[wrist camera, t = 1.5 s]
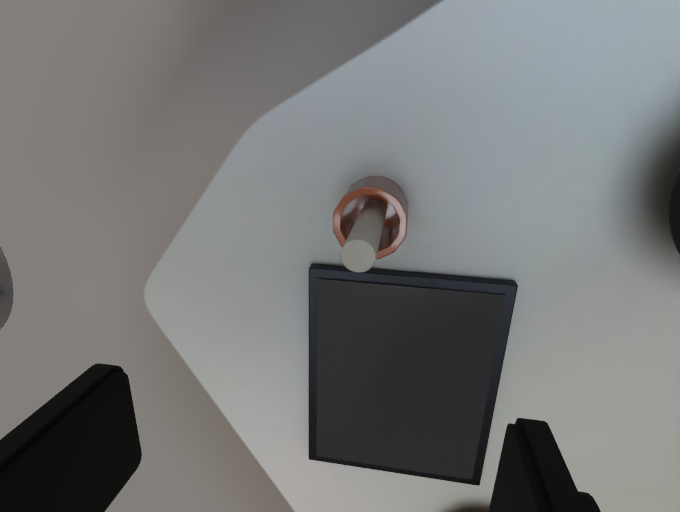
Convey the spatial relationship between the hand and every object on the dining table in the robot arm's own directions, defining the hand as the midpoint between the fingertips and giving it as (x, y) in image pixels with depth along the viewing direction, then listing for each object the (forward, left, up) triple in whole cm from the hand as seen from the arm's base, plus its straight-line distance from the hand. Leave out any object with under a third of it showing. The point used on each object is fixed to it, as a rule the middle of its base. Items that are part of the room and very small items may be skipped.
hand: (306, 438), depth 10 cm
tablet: (+3, -14, -23) cm, 27 cm away
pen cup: (0, +1, -23) cm, 23 cm away
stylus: (0, +1, -23) cm, 23 cm away
